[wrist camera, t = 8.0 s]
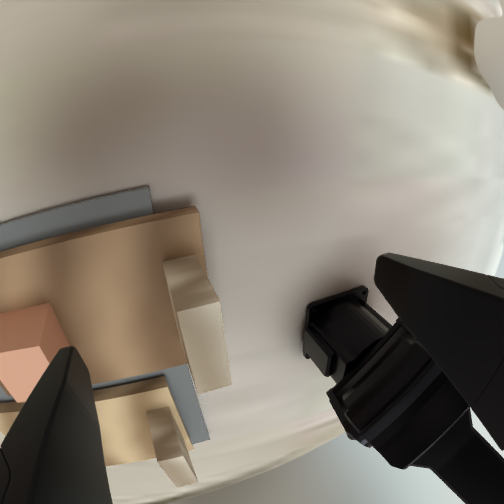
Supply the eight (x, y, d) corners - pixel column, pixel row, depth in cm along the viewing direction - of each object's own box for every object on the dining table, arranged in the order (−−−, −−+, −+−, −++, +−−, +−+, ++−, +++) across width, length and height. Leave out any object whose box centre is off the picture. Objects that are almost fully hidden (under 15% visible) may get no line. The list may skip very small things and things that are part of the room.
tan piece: (164, 375, 23) (182, 439, 18) (190, 440, 28) (208, 489, 23) (-13, 404, 17) (-23, 459, 12) (43, 462, 22) (45, 508, 17)
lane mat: (148, 186, 17) (149, 188, 17) (208, 435, 30) (210, 439, 29) (-91, 257, 11) (-94, 260, 11) (49, 462, 24) (49, 465, 23)
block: (50, 302, 16) (39, 346, 12) (72, 350, 18) (69, 395, 14) (0, 313, 14) (-17, 355, 11) (25, 359, 16) (17, 402, 13)
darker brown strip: (194, 205, 18) (225, 249, 13) (214, 344, 23) (243, 405, 18) (-55, 268, 13) (-94, 323, 7) (10, 385, 18) (1, 446, 13)
